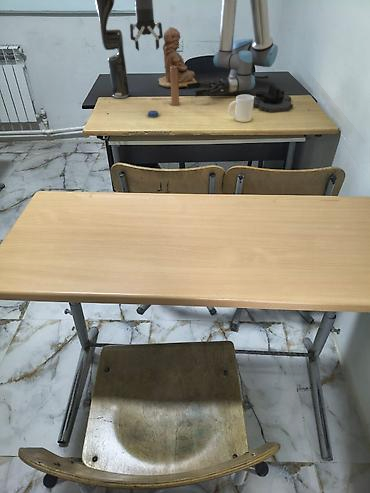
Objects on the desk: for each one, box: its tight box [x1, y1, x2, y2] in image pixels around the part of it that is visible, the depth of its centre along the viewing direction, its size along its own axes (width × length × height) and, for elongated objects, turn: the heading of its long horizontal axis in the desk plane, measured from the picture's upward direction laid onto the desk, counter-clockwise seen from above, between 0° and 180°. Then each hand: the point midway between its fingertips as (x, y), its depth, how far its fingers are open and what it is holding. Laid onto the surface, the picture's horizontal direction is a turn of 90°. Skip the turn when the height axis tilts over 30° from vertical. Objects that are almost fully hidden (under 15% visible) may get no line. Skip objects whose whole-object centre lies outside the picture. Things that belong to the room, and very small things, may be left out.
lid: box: [147, 110, 159, 118], centre depth 181 cm, size 5×5×2 cm
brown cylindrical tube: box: [170, 66, 180, 106], centre depth 187 cm, size 4×4×19 cm
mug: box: [227, 94, 255, 123], centre depth 170 cm, size 12×8×10 cm
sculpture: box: [157, 27, 198, 89], centre depth 214 cm, size 27×24×30 cm
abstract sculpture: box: [253, 83, 294, 113], centre depth 185 cm, size 25×9×20 cm
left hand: (147, 49), depth 162 cm, fingers open, 8 cm apart
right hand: (191, 90), depth 192 cm, fingers open, 13 cm apart
